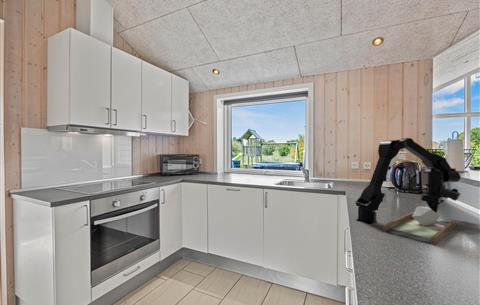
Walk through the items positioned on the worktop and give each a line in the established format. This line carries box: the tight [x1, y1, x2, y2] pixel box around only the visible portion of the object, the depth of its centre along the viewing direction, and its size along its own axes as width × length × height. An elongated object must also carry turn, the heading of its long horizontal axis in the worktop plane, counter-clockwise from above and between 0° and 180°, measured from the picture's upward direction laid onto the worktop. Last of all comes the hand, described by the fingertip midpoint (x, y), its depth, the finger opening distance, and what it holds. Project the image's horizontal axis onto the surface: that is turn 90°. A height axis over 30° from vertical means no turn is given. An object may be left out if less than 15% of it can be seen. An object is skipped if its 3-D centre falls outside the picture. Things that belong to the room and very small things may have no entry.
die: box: [412, 206, 440, 226], centre depth 95 cm, size 8×9×10 cm
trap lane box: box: [383, 211, 457, 246], centre depth 92 cm, size 16×34×2 cm, turn 126°
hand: (434, 214), depth 104 cm, fingers closed
